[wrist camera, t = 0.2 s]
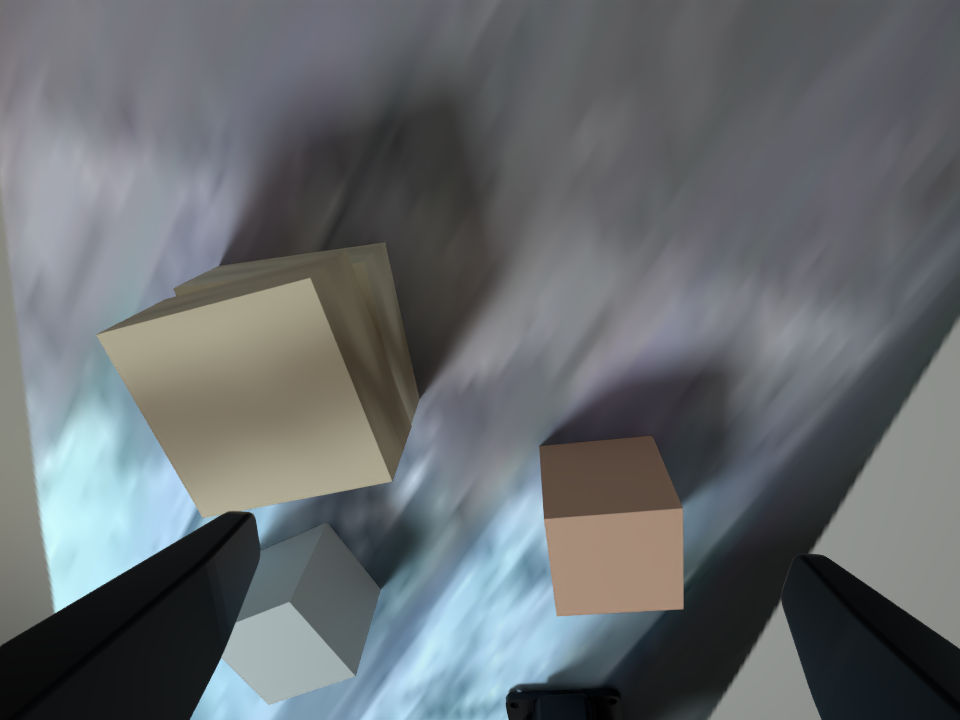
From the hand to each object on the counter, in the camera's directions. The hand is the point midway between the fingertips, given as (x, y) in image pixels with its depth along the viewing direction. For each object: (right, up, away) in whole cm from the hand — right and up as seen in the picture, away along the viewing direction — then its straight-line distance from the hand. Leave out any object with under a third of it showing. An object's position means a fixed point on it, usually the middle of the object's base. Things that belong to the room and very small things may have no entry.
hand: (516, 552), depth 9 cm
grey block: (-9, -8, +20) cm, 23 cm away
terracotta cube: (+5, -3, +16) cm, 17 cm away
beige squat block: (-8, +3, +11) cm, 14 cm away
